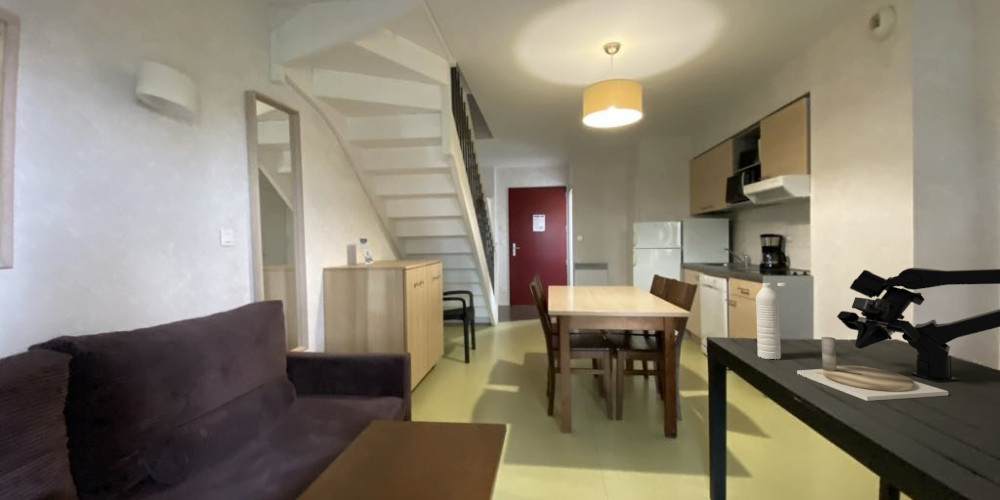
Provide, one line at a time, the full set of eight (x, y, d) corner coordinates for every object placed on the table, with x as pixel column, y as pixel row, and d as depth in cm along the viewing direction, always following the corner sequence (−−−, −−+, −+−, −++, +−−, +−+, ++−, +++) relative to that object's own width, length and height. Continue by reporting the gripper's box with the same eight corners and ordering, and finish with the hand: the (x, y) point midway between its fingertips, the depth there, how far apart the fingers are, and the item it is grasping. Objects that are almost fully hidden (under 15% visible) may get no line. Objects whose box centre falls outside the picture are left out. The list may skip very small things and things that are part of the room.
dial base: (864, 369, 119) (864, 365, 119) (948, 395, 98) (948, 390, 98) (797, 373, 118) (797, 370, 118) (867, 400, 97) (867, 396, 97)
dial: (825, 365, 121) (824, 331, 120) (911, 376, 108) (910, 339, 108) (819, 381, 107) (817, 343, 107) (916, 396, 95) (914, 353, 95)
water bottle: (757, 358, 134) (754, 283, 134) (758, 353, 140) (755, 281, 139) (789, 361, 129) (786, 283, 129) (789, 356, 135) (786, 282, 135)
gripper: (841, 284, 124) (809, 322, 123) (908, 290, 105) (872, 335, 104) (865, 308, 125) (834, 346, 124) (936, 319, 106) (900, 363, 105)
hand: (857, 347), depth 114 cm, fingers closed
